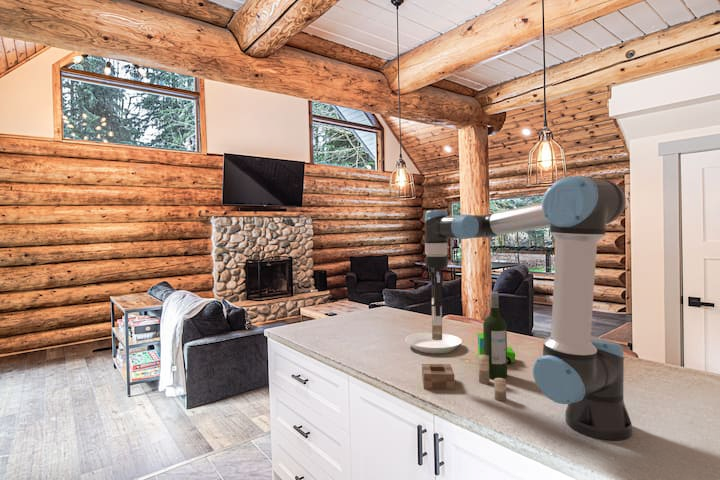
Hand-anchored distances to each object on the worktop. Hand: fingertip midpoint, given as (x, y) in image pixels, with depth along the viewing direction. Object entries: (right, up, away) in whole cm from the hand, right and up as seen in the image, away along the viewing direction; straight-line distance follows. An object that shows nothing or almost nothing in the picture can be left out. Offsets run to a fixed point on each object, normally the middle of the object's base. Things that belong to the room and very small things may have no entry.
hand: (437, 323), depth 137 cm
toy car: (+28, -20, +23) cm, 41 cm away
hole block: (0, -21, 0) cm, 21 cm away
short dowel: (+17, -21, -13) cm, 30 cm away
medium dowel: (+16, -20, +1) cm, 26 cm away
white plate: (+7, -20, +43) cm, 48 cm away
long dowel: (0, -5, 0) cm, 5 cm away
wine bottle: (+22, -20, +7) cm, 31 cm away
